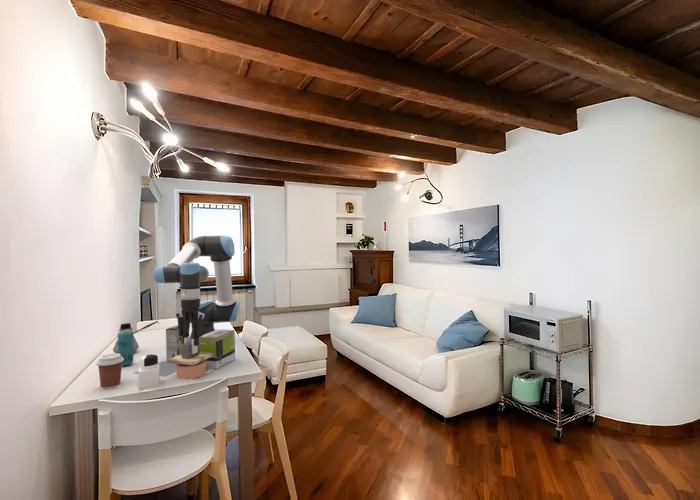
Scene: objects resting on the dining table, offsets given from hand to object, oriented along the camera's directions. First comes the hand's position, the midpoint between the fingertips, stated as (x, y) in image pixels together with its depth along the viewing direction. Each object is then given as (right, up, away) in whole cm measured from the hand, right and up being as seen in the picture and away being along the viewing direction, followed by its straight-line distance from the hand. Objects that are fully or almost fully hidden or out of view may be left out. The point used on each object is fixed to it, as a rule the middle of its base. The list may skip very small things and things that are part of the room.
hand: (191, 352), depth 149 cm
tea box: (+6, -10, +15) cm, 19 cm away
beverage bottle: (-36, -10, +12) cm, 39 cm away
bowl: (0, -10, 0) cm, 10 cm away
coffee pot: (-46, -10, +36) cm, 60 cm away
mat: (-16, -10, +7) cm, 20 cm away
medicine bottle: (-11, -10, -11) cm, 19 cm away
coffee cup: (-27, -10, -11) cm, 31 cm away
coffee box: (-17, -10, +22) cm, 30 cm away
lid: (0, -3, 0) cm, 3 cm away
